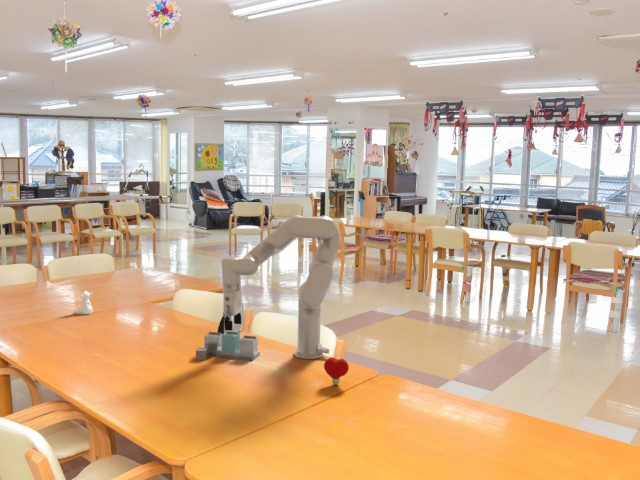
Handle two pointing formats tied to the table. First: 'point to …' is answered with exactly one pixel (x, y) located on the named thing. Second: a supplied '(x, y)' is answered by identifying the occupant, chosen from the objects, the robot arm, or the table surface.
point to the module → (231, 342)
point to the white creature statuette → (85, 304)
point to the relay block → (201, 354)
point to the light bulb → (336, 369)
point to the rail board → (245, 353)
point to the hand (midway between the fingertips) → (233, 326)
